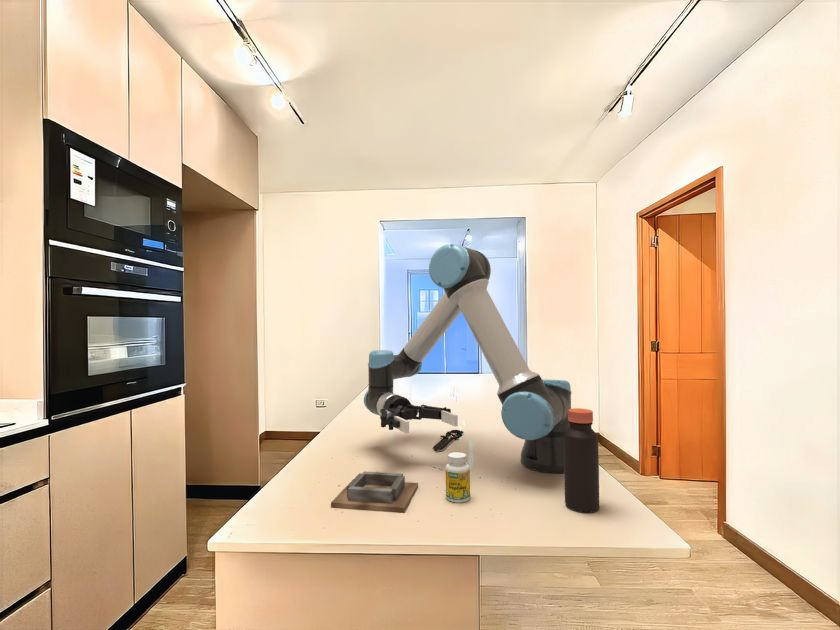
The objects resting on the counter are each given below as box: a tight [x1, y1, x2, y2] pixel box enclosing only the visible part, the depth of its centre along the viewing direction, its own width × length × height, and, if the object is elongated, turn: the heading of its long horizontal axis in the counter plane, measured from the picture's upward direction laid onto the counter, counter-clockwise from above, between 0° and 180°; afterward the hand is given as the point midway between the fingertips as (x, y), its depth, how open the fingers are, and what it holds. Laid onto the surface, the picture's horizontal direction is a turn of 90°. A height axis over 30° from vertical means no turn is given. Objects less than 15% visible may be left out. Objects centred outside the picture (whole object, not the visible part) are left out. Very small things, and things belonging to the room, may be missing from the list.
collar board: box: [330, 471, 419, 514], centre depth 98 cm, size 16×14×4 cm
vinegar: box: [563, 407, 600, 514], centre depth 92 cm, size 7×7×20 cm
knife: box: [432, 429, 464, 453], centre depth 142 cm, size 25×6×1 cm, turn 155°
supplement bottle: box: [444, 451, 471, 504], centre depth 96 cm, size 5×5×10 cm
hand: (432, 424), depth 105 cm, fingers open, 13 cm apart
